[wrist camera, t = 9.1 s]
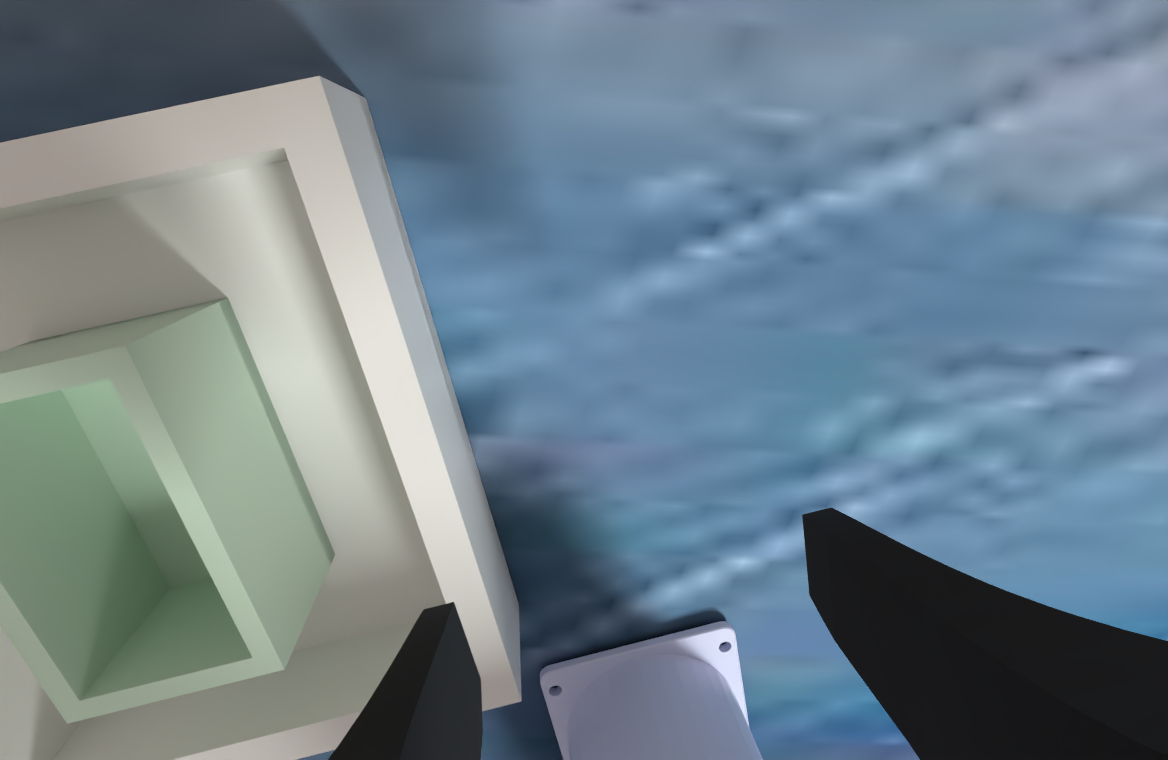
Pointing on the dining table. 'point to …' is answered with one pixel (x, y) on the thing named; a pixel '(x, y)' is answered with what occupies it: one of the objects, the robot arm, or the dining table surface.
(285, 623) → the green crate
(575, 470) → the dining table surface
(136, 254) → the white crate
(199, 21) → the dining table surface
